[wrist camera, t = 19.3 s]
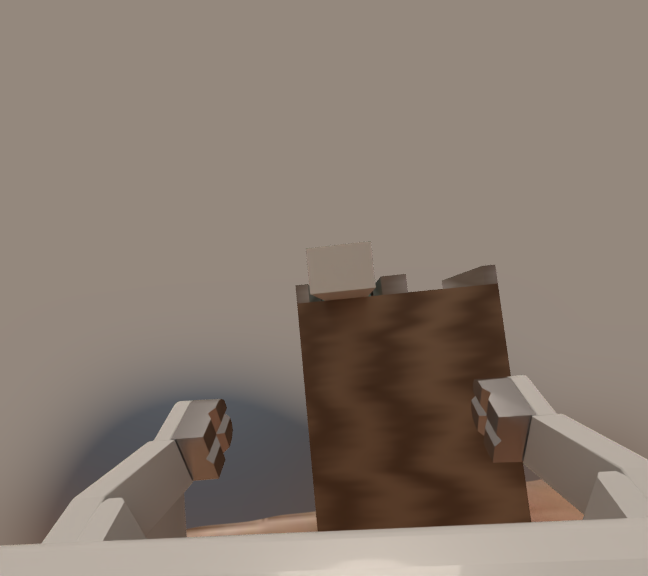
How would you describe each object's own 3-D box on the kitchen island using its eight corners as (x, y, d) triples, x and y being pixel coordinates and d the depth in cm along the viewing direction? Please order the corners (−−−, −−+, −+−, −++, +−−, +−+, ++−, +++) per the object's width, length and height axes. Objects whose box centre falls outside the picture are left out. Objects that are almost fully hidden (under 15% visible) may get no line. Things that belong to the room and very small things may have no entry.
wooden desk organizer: (483, 532, 36) (446, 249, 39) (547, 639, 24) (489, 221, 27) (335, 539, 37) (309, 264, 40) (328, 644, 26) (291, 244, 28)
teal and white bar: (365, 300, 38) (361, 261, 38) (380, 287, 18) (371, 204, 18) (330, 304, 38) (326, 264, 38) (305, 294, 18) (298, 213, 18)
